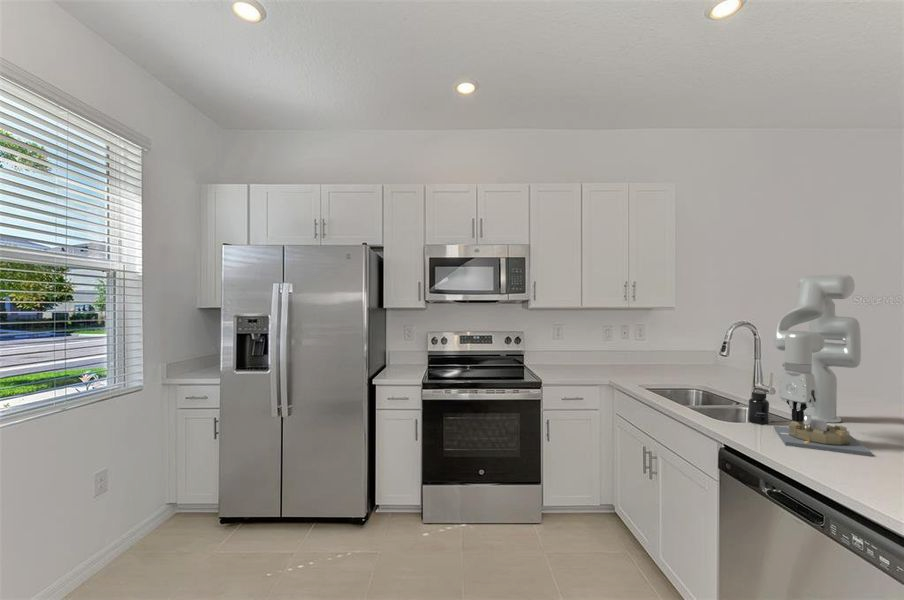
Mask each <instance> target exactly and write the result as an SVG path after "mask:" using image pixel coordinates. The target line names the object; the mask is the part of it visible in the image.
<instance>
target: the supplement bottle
mask: <svg viewBox="0 0 904 600" xmlns="http://www.w3.org/2000/svg"><path fill="white" fill-rule="evenodd" d="M747 405H748V408H747V409H748V412H747V421H748V422H749V423H752V424H754V425H755V424H756V425H762V426H764V425H765V424H767V425H769V420H770V414H769V413H770V402H769V400H767V393H766V392H762V391H752V392H751V397H750V398H749V399H748V404H747Z"/></svg>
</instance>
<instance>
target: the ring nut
mask: <svg viewBox="0 0 904 600" xmlns="http://www.w3.org/2000/svg"><path fill="white" fill-rule="evenodd" d="M847 429H848V428H847V427H846V426H842V425H834V426H833V425H828V424H827V431H823V430H821V429H814V428H813V429H811V416H810V415H803V422H795V421H792V420H791V422H789V434H790V435H792V436H794V437H796V438H800V439H803V440H807V441H811V442H817V443H823V444H835V445H843V444H849V443H850V435H851V434H850V431H849V430H847Z"/></svg>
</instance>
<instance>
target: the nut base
mask: <svg viewBox="0 0 904 600" xmlns="http://www.w3.org/2000/svg"><path fill="white" fill-rule="evenodd" d="M827 425H828V422H826V421H822V420H811V429H813V428H814V429H821V430H823V431H827ZM773 429H775V430H774V431H775V433H776V434H777V435H778V437H779V439H781V441H782V443H783V444H784V446H787V447H795V448H803V449H810V450H818V451H825V452H826V451H827V452H834V453H842V454H848V455H849V454H850V455H857V456H865V457H873V453H872V451H871V450H870V449H868V448H867V447H866V446H864V445H863V444H862V443H861V442H860V441H858V440H857V439H856V438H855V437H854V436H852V435H851V434H850V443H849V444H843V445H835V444H823V443H817V442H811V441H807V440H803V439H800V438H796V437H794V436H792V435H790V434H789V427H787V426H776V425H774V426H773Z"/></svg>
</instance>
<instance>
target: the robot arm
mask: <svg viewBox="0 0 904 600" xmlns="http://www.w3.org/2000/svg"><path fill="white" fill-rule="evenodd" d="M855 286H856V285H855V280H854V277H852V276H851V275H850V274H831V275H830V274H827V275H826V274H825V275H824V274H822V275H820V274H819V275H805V276H801V277H800V278H799V279H798V281H797V288H798V292H797V295H796V297H797V298H796V301H795V307H794V308H793V309H790V310H788V311H787V312H786V313H785V314H784V315H783V316H782V317H781V318H779V320H778V321H777V323H776V327H775V331H774V334H773V335H774V336H773V344H774V346H775V349H777V350H779V351H783V352H784V362H783V363H782V365H781V366H782V367H784V370H782V371H781V374H780V378H779V384H778V385H779V386H778V397H779V398H780V399H781V401H783V402H784V403H786V404H787V405H788V406H789V410H791V422H792V421H795V422H803V415H810V416H811V420H822V421H826V422H827V423H832V424H833V423H840V422H842V418H841V417H839V416H837V407H838V406H837V401H838V398H837V397H838V396H837V395H838V394H837V392H838V389H837V387H838V379H837V375H836V374H835V373H834V371H833V370H832V369H831V368H830V367H836V368H845V369H847V368H848V369H851V368H852V369H854V368H858V367H859V365H861V360H862V358H861V357H862V353H861V352H862V351H861V350H862V348H861V347H862V346H861V345H862V343H861V341H862V340H861V325H860V321H859V320H858V319H857V318H855V317H853V316H852V317H850V316H837V315H836V305H835V302H834V301H833V300H846V299H848V298H849V297H851V296H852V294H853V293H854V291H855ZM806 322H807V323H808V331H802V330H789V329H791V328H792V327H795V326H797V325H799V324H804V323H806ZM825 340H827V341H828V340H829V341H830V340H831V341H843V342H844V343H836V342H825ZM805 411H806V412H805Z"/></svg>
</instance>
